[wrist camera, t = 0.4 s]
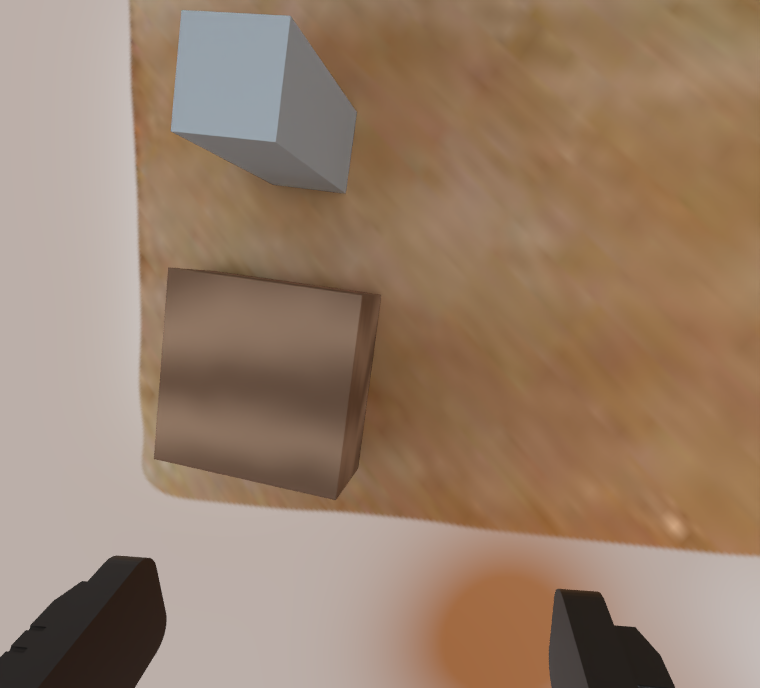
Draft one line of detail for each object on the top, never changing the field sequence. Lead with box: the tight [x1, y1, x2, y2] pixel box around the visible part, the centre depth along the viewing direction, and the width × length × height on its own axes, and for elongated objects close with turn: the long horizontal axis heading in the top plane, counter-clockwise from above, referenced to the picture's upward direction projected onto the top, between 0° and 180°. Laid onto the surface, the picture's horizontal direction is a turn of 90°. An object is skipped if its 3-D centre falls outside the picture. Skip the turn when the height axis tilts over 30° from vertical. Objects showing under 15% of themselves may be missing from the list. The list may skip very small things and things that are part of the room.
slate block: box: [171, 10, 357, 194], centre depth 29 cm, size 6×6×12 cm
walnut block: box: [154, 268, 381, 500], centre depth 34 cm, size 13×13×6 cm
